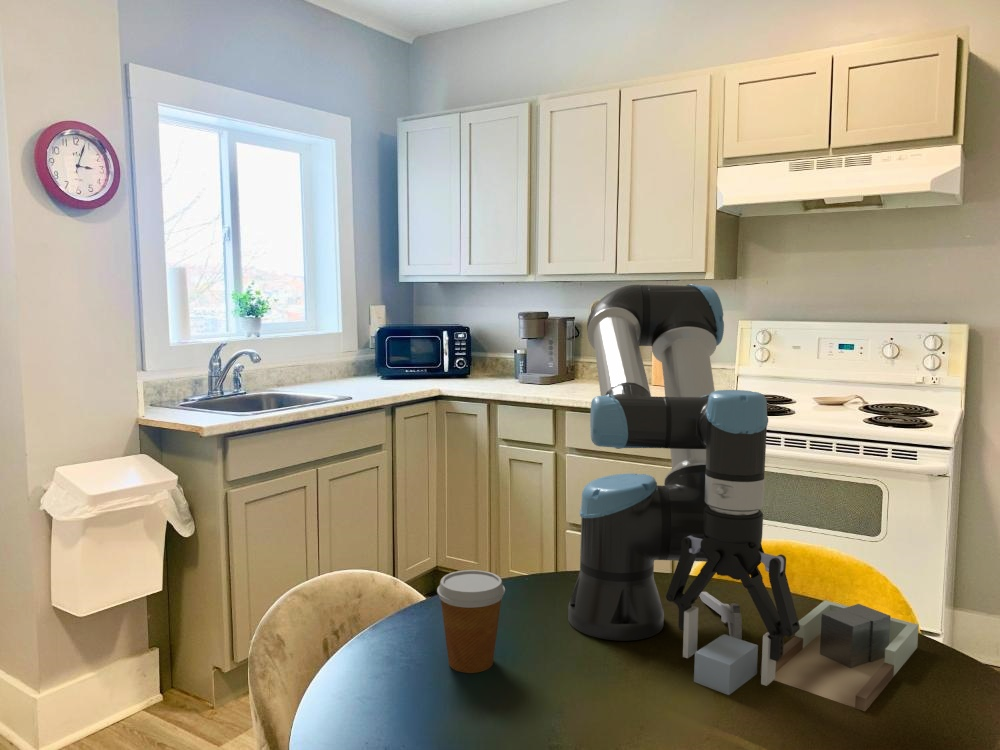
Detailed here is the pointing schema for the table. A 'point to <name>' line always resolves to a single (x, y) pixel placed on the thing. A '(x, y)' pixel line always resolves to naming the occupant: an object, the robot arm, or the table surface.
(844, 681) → the slot board
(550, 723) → the table surface
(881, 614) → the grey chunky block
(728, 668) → the grey block
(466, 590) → the disposable coffee cup
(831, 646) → the grey squarish block
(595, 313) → the robot arm
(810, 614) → the tray
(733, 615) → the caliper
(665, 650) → the table surface
